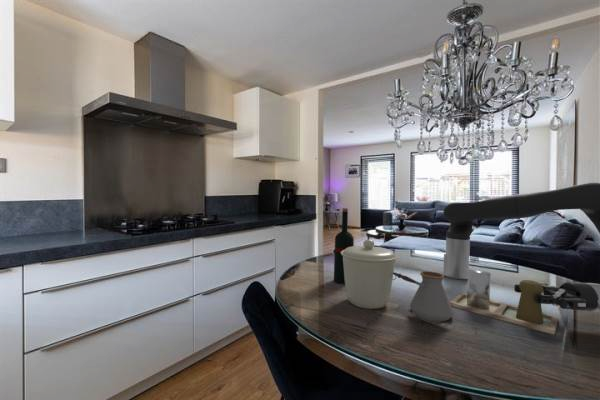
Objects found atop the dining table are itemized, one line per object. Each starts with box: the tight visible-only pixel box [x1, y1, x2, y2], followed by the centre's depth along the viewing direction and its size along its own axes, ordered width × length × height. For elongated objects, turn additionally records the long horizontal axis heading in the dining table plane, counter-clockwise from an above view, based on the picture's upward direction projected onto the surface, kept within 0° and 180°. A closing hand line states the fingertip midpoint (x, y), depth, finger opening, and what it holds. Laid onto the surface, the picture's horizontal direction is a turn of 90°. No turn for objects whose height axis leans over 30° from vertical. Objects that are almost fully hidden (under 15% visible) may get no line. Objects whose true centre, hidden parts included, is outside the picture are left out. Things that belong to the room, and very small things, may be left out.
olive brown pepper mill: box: [516, 279, 543, 325], centre depth 79 cm, size 6×6×11 cm
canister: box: [341, 238, 398, 310], centre depth 92 cm, size 18×18×21 cm
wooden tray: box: [449, 292, 559, 336], centre depth 84 cm, size 25×12×2 cm, turn 44°
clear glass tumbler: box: [466, 268, 492, 310], centre depth 88 cm, size 6×6×11 cm
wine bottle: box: [333, 207, 355, 285], centre depth 113 cm, size 8×10×30 cm
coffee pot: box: [390, 270, 454, 325], centre depth 80 cm, size 21×12×15 cm, turn 115°
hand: (525, 293), depth 80 cm, fingers open, 8 cm apart
